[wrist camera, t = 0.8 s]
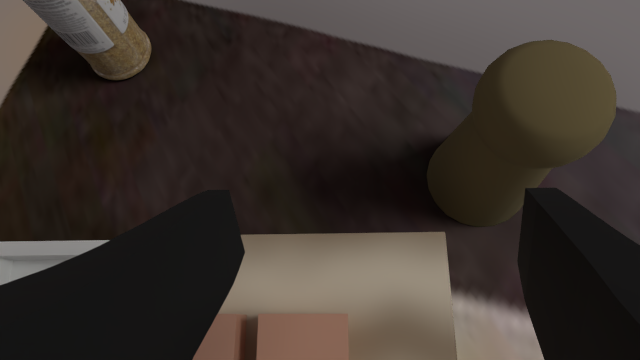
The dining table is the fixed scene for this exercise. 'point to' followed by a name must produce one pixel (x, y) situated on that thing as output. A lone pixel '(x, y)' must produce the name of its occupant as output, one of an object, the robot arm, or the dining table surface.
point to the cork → (521, 130)
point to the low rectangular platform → (353, 289)
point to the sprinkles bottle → (98, 34)
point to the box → (38, 256)
